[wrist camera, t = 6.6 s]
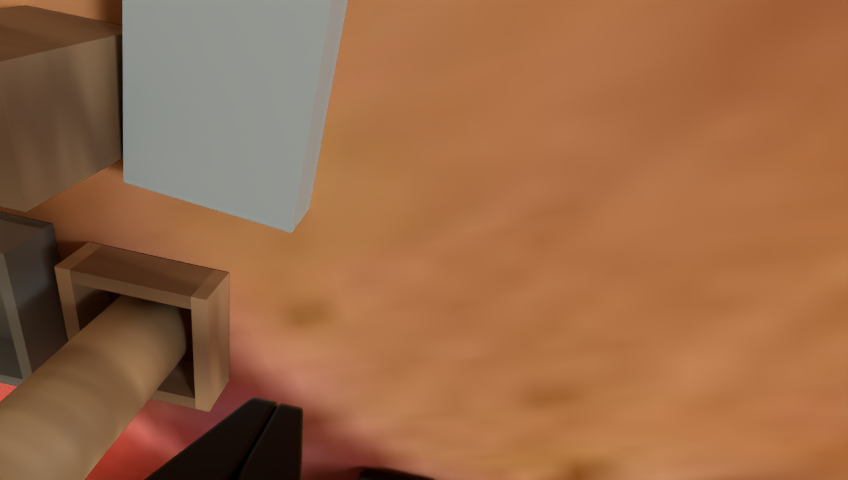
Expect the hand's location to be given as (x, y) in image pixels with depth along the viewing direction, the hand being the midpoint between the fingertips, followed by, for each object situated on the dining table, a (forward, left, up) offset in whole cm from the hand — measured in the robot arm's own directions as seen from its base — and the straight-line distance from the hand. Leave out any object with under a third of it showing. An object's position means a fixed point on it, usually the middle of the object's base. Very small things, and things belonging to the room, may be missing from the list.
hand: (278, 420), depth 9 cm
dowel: (-9, +9, -12) cm, 18 cm away
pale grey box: (+2, +6, -12) cm, 14 cm away
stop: (+1, +11, -12) cm, 16 cm away
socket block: (-9, +9, -12) cm, 18 cm away
